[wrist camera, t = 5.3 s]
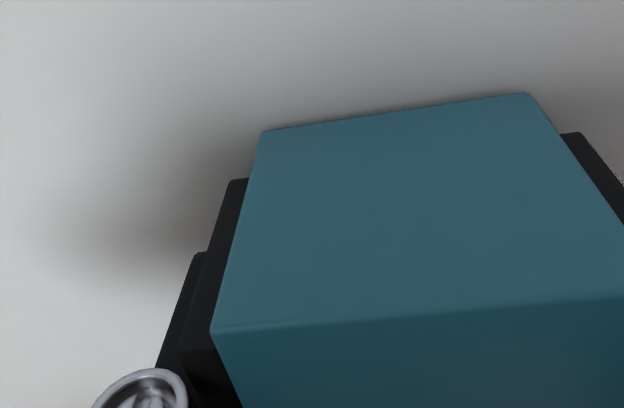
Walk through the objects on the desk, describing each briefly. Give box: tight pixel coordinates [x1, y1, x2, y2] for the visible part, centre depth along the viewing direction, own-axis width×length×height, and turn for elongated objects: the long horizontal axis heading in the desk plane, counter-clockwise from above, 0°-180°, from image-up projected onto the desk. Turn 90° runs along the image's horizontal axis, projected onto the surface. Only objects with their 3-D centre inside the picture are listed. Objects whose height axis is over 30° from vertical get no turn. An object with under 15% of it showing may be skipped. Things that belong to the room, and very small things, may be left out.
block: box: [210, 92, 624, 408], centre depth 8 cm, size 4×4×4 cm
